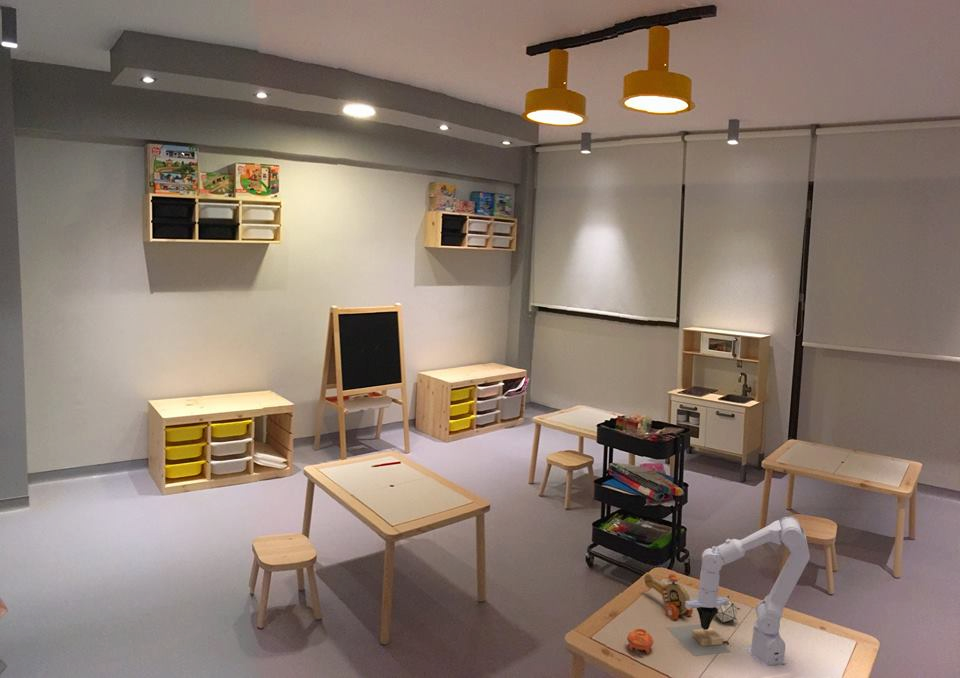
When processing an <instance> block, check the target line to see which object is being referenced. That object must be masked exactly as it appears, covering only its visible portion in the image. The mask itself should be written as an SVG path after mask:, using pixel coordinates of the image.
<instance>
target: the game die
mask: <svg viewBox="0 0 960 678" xmlns="http://www.w3.org/2000/svg"><path fill="white" fill-rule="evenodd" d="M726 598H727V599H728V600H729V606H725V605H719V606H717V607H716V608H717V609H718V613H717V614H716V615H715V617H716V618H718V619H719V620H720V621H721V623H722V625H724V623H728V622H730V621H731V622H732V621H733V622H734V620H735V621H738V620H737V614H738V611H740V610H741V608H740V607H737V606H736V605H735V604H734V603H735V602H734V603H733V602H732V600H731V599H729V598H730V595H728V596H727V597H726Z"/></svg>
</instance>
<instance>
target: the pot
mask: <svg viewBox="0 0 960 678" xmlns="http://www.w3.org/2000/svg"><path fill="white" fill-rule="evenodd" d="M626 638H627V642H628V645H629V646H628V647H629V650H630V651H632V650H633V648H634V649H636V650H638V651H639V650H640V651H643V650H644V651H645V652H646V653H647V654H649V653H650V651H651V647H652V646H653V645H654V642H655V641H654V638H653V637H652V635H651V634H650V633H649V632H647V630H646V629H643V628H636V629H634V630H632V631H630V632H629V633H628V635H627V637H626Z"/></svg>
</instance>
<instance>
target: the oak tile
mask: <svg viewBox="0 0 960 678" xmlns="http://www.w3.org/2000/svg"><path fill="white" fill-rule="evenodd" d="M692 636H693V637H694V638H695V639H696V640H697V641H698V642H699V643H700V644H701V645H702V646H710V645H719V644H723V637H722V635H720V634H719V633H718V632H717V631H716V630H714V629H713V628H712V627H709V628H708V629H707V630H704V629H697V630H692Z"/></svg>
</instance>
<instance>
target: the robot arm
mask: <svg viewBox="0 0 960 678" xmlns="http://www.w3.org/2000/svg"><path fill="white" fill-rule="evenodd" d="M770 542H771V543H774V544H776V545H780V546H781V545H782V543H783V544H784V546H785V547H786V548H787V549H788V550H789V552H790V554H789V555H788V558H787V559H786V561H785V563H784V565H783V567H782V569H781V571H780V572H779V575H778V577H777V578H776V580H775V582H774V585H773V586H772V588H771V590H770V592H769V594H767V595H766V596H765V597H764V598H763V600H762V601H761V602H758V604H757V605H756V606H755V613H756V618H757V619H756V620H755V621H754V623H753V628H752V629H753V630H752V638H751V646H748V647H744V650H746V651H747V652H748V653H749V654H750V655H751V656H752V657H753V658H755V659H756V660H757V661H758V662H759V663H760V664H761V665H762V666H764V667H765V666H766V667H767V666H773V665H786V663H787V662H786V661H785V660H784V659H785V652H786V642H785V640H784V639H783V638H782V637H781V635H780V628H781V625H780V624H781V623H780V622H781V619H782V618H783V612H784V607H785V605H786V603H787V601H788V600H789V598H790V596H791V594H792V592H793V591H794V588H795V587H796V584H797V583H798V581H799V579H800V578H801V576H802V574H803V572H804V570H805V569H806V566H807V564H808V563H809V561H810V558H811V555H810V551H809V550H810V549H809V544H808V539H807V537H806V534H805V530H804V528H803V527H802V525H801V523H800V521H799V520H798V519H797V518H796V517H795V518H794V517H792V516H785V517H782V518H781V519H778V520H775V521H773V522H772V523H770V524H768V525H767V526H765V527H763V528H761V529H759V530H757V531H755V532H753V533H752V534H749V535H747V536H746V537H744V538H742V539H738V538H737V539H736V538H732V539H730V538H727V539H726V540H725V542H723V543H721V544H719V545H717V546H715V545H714V546H712V547H711V548H710V547H709V548H706V549H704V550H703V552H702V553H701V568H700V569H701V571H700V574H699V575H700V576H699V585H698V594H697V597H695V598H691V599H690V600H689V601H685V607H686V608H687V609H688V610H691V608H692V609H696V610H697V613H698V616H699V620H700V621H699V622H700V624H701V627H702V628H703V629H704V630H707V629H708V628H710V625H711V624H712V621H713V620H714V618H715V617H716V614H717V613H718V609H717V608H716V607H717V606H719V605H725V606H729V600H728V599H727V598H728V597H725V596H723V597H721V596H719V595H718V594H719V586H720V578H721V577H720V571H721V570H722V568H723V566H725V565H728V564H730V563H732V562H734V561H737V560H739V559H741V558H743V557H744V556H745V553H746V551H749V550H752V549H754V548H756V547H760V546H761V545H765V544H767V543H770ZM781 542H782V543H781Z"/></svg>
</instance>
